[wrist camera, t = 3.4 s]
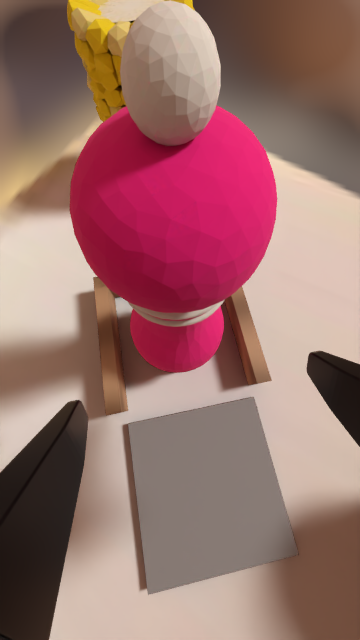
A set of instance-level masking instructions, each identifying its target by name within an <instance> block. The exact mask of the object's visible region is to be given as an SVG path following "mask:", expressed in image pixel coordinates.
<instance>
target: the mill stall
mask: <svg viewBox="0 0 360 640" xmlns="http://www.w3.org/2000/svg"><path fill="white" fill-rule="evenodd" d="M93 279H94V290H95V301H96V313H97V324H98V335H99V346H100V357H101V368H102V379H103V391H104V402H105V413H106V415H111V414H116V413H120V412H124V411H128V406H127V397H126V389H125V381H124V372H123V364H122V355H121V347H120V339H119V330H118V322H117V313H116V305H115V298H116V297H120V296H119V295H117V294H116V293H114V292H113V291H111V290H110V289H108V287H107V286H106V285H105V284H104V283H103V282H102V281H101V280H100V279H99V277H93ZM225 304H226V307H227V311H228V314H229V318H230V321H231V325H232V329H233V332H234V336H235V339H236V343H237V346H238V350H239V353H240V357H241V360H242V364H243V367H244V371H245V375H246V378H247V382H248V385H252V384H258V383H263V382H267V381H272V380H271V377H270V374H269V371H268V368H267V364H266V361H265V358H264V355H263V352H262V349H261V345H260V342H259V339H258V336H257V333H256V330H255V326H254V323H253V320H252V317H251V314H250V311H249V307H248V304H247V301H246V298H245V295H244V291H243V288H242V286H241V287H240V288H239V289H238V290H237V291H236V292H235V293H234V294H232V295H231V296H229V297H228V298H226V299H225Z"/></svg>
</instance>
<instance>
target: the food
mask: <svg viewBox="0 0 360 640" xmlns="http://www.w3.org/2000/svg"><path fill="white" fill-rule="evenodd" d="M162 1H169V0H68V6H67V15H68V22H69V25H70V28H71V30H73V31H75V47H76V50H77V52H78V54H79V55H80V56H81V58H82V61H83V65H84V67H85V69H86V71H87V72H88V75H87V86H88V87H89V88H90V89H91V91H92V92H93V93H94V98H93V100H94V102H95V103H96V105H97V106H96V109H97V112H98V114H99V117H100V119H101V120H102V121H103V122H104V121H106V120H107V119H108V118H110V117H111V116H112V115H114V114H115V113H116V112H118V111H119V110H120V109H122V108H124V107H126V103H125V100H124V97H123V93H122V85H121V76H120V68H121V58H122V51H123V47H124V44H125V41H126V38H127V35H128V32H129V30H130V28H131V26H132V25H133V23H134V22H135V20H136V18H137V17H138V16H140V15H141V14H142V13H143V12H144V11H145V10H146V9H147V8H149V7H150V6H152V5H155V4H157V3H159V2H162ZM171 1H175V2H179V3H183V4H186V5H187V6H189V7H190V8H191V9H193V10H194V8H193V5H192V0H171Z"/></svg>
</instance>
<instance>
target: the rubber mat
mask: <svg viewBox="0 0 360 640" xmlns="http://www.w3.org/2000/svg"><path fill="white" fill-rule="evenodd" d="M128 428H129V437H130V445H131V454H132V462H133V471H134V479H135V488H136V497H137V505H138V514H139V522H140V531H141V539H142V548H143V556H144V565H145V574H146V582H147V591H148V595H149V594H153V593H156V592H160V591H164V590H168V589H172V588H175V587H179V586H183V585H187V584H190V583H194V582H198V581H202V580H205V579H209V578H213V577H217V576H221V575H224V574H228V573H232V572H236V571H239V570H243V569H247V568H251V567H254V566H258V565H262V564H266V563H270V562H273V561H277V560H281V559H285V558H288V557H292V556H296V555H299V553H298V550H297V546H296V543H295V539H294V536H293V532H292V529H291V525H290V522H289V518H288V515H287V511H286V508H285V504H284V501H283V497H282V494H281V490H280V487H279V483H278V480H277V476H276V473H275V469H274V466H273V462H272V459H271V455H270V452H269V448H268V445H267V441H266V438H265V434H264V431H263V427H262V424H261V420H260V417H259V413H258V410H257V406H256V403H255V399H254V397H250V398H245V399H240V400H236V401H231V402H227V403H222V404H217V405H213V406H208V407H203V408H199V409H194V410H189V411H185V412H180V413H175V414H171V415H166V416H161V417H157V418H152V419H147V420H143V421H138V422H133V423H129V424H128Z"/></svg>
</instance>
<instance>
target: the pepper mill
mask: <svg viewBox="0 0 360 640" xmlns="http://www.w3.org/2000/svg"><path fill="white" fill-rule="evenodd" d="M220 69H221V65H220V61H219V57H218V53H217V48H216V44H215V40H214V37H213V35H212V33H211V31H210V29H209V27H208V25H207V24H206V23H205V22H204V20H203V19H202V18H201V16H200V15H199V14H198V13H197V12H195V11H194V10H193V9H191V8H190V7H189V6H187V5H186V4H183V3H179V2H175V1H171V0H169V1H162V2H159V3H157V4H155V5H152V6H150V7H149V8H147V9H146V10H145V11H144V12H143V13H142V14H141V15H140V16H138V17H137V18H136V20H135V22H134V23H133V25H132V26H131V28H130V30H129V32H128V35H127V38H126V41H125V44H124V47H123V51H122V58H121V68H120V76H121V85H122V93H123V97H124V100H125V103H126V107H124V108H122V109H120V110H119V111H118V112H116V113H115V114H114V115H112V116H111V117H110V118H108V119H107V120H106V121H104V122H103V123H102V124H101V125H100V126H99V127H98V128H97V129H96V131H95V132H94V133H93V134H92V135H91V136H90V138H89V139H88V141H87V143H86V145H85V146H84V148H83V150H82V152H81V154H80V156H79V158H78V160H77V163H76V165H75V168H74V172H73V176H72V180H71V189H70V214H71V219H72V223H73V228H74V233H75V236H76V238H77V241H78V243H79V245H80V247H81V250H82V252H83V254H84V256H85V259H86V261H87V263H88V264H89V266H90V267H91V269H92V270H93V271H94V273H95V274H96V275H97V276H98V277H99V279H100V280H101V281H102V282H103V283H104V284H105V285H106V286H107V287H108V289H110V290H111V291H113V292H114V293H116V294H117V295H119V296H120V297H122V298H123V299H125V300H126V301H128V303H129V304H130V305H131V306H132V308H133V311H132V315H131V320H130V331H131V336H132V339H133V342H134V344H135V346H136V348H137V350H138V352H139V353H140V355H141V356H142V357H143V358H144V359H145V360H146V361H147V362H148V363H149V364H151V365H152V366H154V367H156V368H158V369H160V370H164V371H167V372H175V373H177V372H187V371H190V370H194V369H196V368H198V367H200V366H202V365H203V364H205V363H206V362H207V361H208V360H210V358H211V357H212V356H213V355H214V354H215V352H216V350H217V349H218V347H219V344H220V342H221V339H222V335H223V331H224V319H223V314H222V310H221V304H222V303H223V302H224V300H225V299H226V298H228V297H229V296H231V295H232V294H234V293H235V292H236V291H237V290H238V289H239V288H240V287H241V286H242V285H243V284H244V283H245V282H246V281H247V280H248V279H249V278H250V277H251V276H252V274H253V273H254V272H255V270H256V268H257V267H258V265H259V263H260V262H261V260H262V259H263V257H264V255H265V252H266V249H267V247H268V244H269V242H270V239H271V236H272V232H273V228H274V224H275V220H276V207H277V192H276V183H275V179H274V174H273V171H272V168H271V165H270V162H269V159H268V157H267V154H266V151H265V149H264V148H263V146H262V145H261V144H260V142H259V141H258V139H257V138H256V137H255V135H254V133H253V132H252V131H251V130H250V129H249V128H248V127H247V126H246V125H245V124H243V123H242V122H241V121H240V120H239V119H238V118H237V117H236V116H234V115H233V114H231V113H229V112H227V111H226V110H224V109H223V108H221V107H219V106H216V103H217V99H218V94H219V91H220Z"/></svg>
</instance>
